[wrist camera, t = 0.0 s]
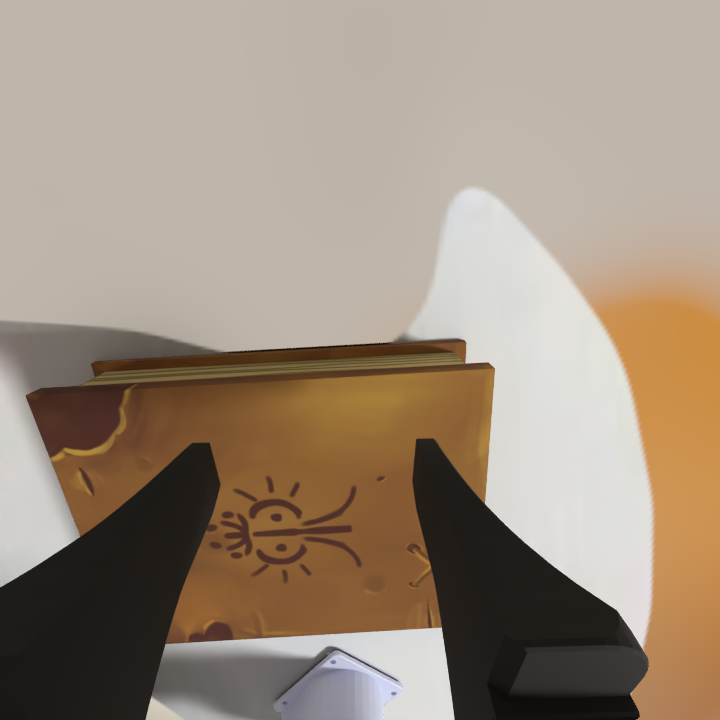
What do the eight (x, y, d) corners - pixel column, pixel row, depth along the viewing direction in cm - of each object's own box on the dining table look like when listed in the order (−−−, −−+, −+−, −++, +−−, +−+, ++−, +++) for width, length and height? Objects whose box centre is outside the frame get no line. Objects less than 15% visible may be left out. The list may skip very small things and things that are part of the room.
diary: (169, 576, 29) (126, 654, 24) (103, 357, 23) (24, 395, 18) (453, 561, 29) (476, 637, 23) (462, 338, 23) (496, 370, 17)
